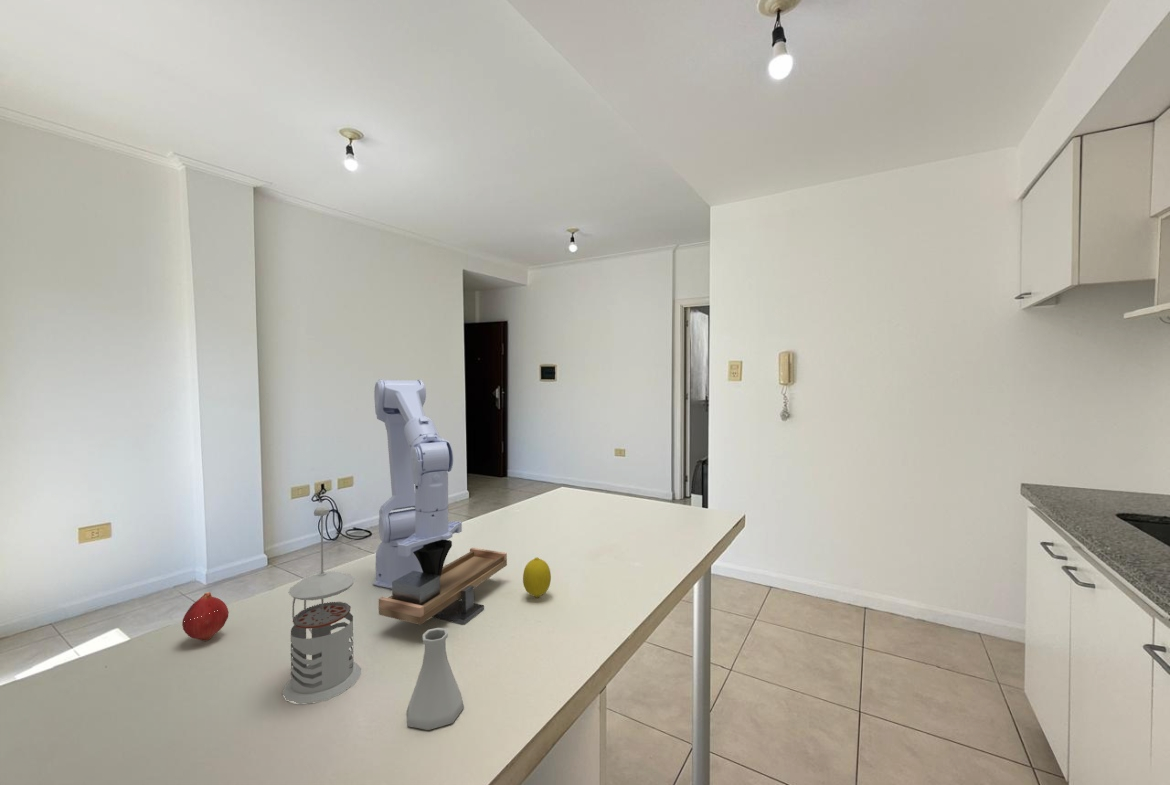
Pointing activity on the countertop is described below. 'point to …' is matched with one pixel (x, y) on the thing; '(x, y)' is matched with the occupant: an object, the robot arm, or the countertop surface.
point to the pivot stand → (461, 608)
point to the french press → (321, 637)
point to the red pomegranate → (205, 617)
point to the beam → (448, 585)
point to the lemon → (536, 577)
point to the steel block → (416, 587)
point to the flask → (434, 686)
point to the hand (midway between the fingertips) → (432, 582)
